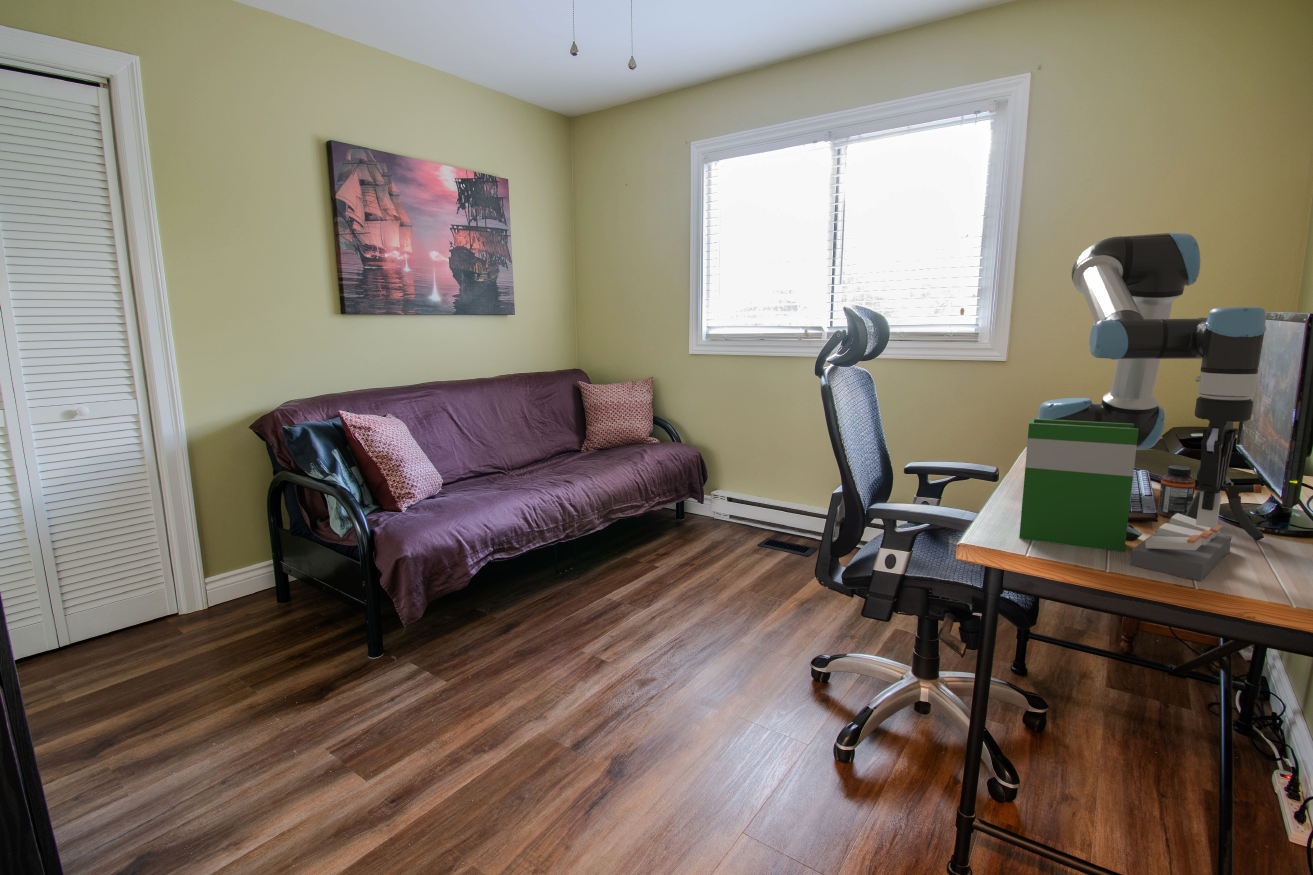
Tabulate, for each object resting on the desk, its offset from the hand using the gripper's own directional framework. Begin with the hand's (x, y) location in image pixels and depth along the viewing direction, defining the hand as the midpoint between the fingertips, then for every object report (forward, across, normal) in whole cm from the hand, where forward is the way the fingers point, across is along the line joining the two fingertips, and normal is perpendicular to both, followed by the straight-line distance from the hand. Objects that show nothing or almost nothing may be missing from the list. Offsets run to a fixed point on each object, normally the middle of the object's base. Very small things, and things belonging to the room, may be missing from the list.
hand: (1206, 525), depth 116 cm
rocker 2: (+2, -7, -3) cm, 8 cm away
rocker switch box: (+7, -2, -3) cm, 8 cm away
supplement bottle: (+8, -31, -11) cm, 33 cm away
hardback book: (+7, +4, -20) cm, 22 cm away
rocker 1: (+2, +8, -3) cm, 9 cm away
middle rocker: (+2, 0, -3) cm, 4 cm away
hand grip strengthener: (+7, -21, -1) cm, 22 cm away
